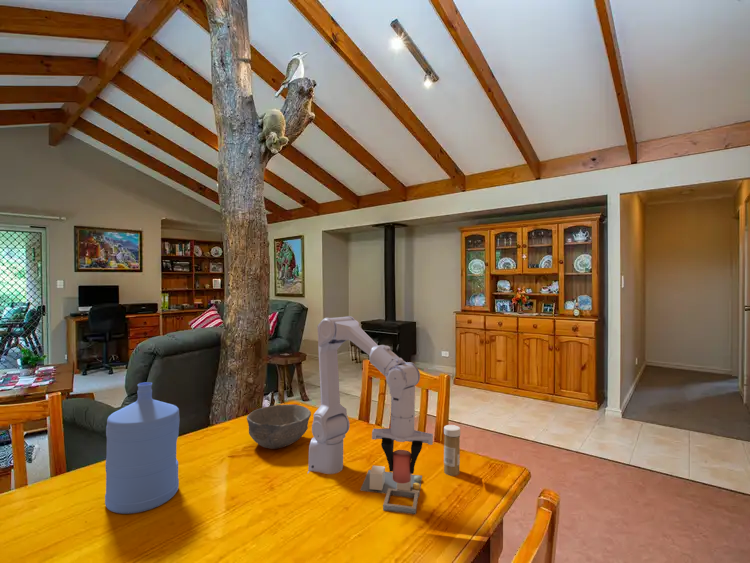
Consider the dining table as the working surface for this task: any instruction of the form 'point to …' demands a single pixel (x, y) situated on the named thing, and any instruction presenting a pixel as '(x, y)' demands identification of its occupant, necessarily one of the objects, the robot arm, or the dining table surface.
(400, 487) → the toggle
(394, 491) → the frame
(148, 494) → the water jug
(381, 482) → the toggle
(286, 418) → the bowl
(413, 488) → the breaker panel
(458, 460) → the sprinkles bottle
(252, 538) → the dining table surface
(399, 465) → the cap
